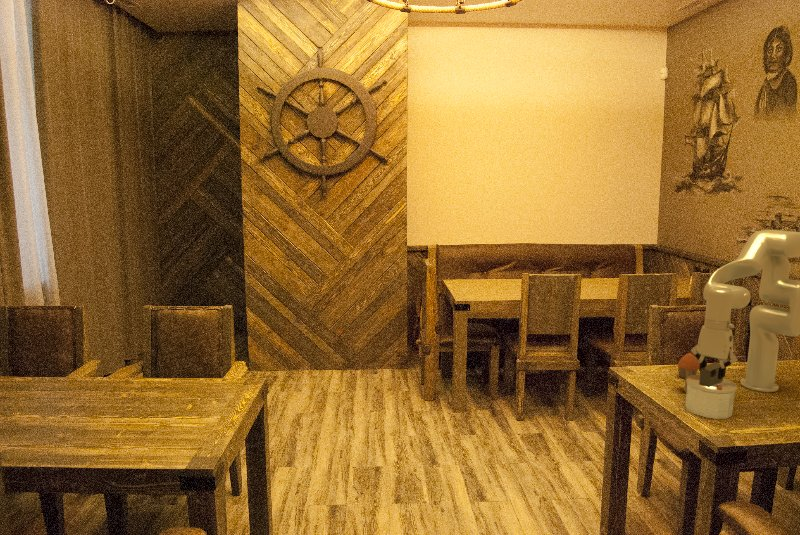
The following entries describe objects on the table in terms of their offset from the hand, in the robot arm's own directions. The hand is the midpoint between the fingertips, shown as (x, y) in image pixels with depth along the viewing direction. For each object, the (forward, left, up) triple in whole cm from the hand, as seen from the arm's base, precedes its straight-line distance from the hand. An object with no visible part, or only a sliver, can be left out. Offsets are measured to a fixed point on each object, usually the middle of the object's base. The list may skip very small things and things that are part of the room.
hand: (711, 375), depth 205 cm
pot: (0, 0, -13) cm, 13 cm away
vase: (-27, -20, -13) cm, 36 cm away
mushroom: (-12, -13, -13) cm, 22 cm away
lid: (0, 0, -5) cm, 5 cm away
